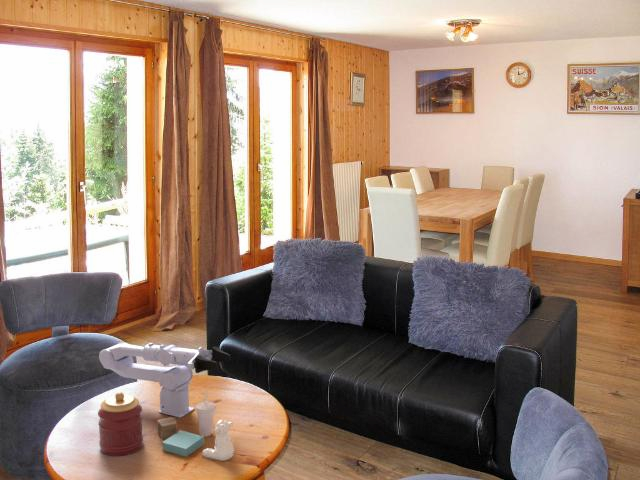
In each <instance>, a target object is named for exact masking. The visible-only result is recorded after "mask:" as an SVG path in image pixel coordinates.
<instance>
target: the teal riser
mask: <svg viewBox="0 0 640 480" xmlns="http://www.w3.org/2000/svg"><path fill="white" fill-rule="evenodd" d="M204 444H205V436H201V435H200V434H196V433H192V432H188V431H185V430H181V429H180V430H179V431H177V433H176V434H174V435H172V436H171V437H169V438H168V439H166V440H163V441H162V442H161V448H162V451H166V452H168V453H171V454H175V455H178V456H183V457H188V456H189V455H190V454H192V453H194V452H195V451H196V450H198V449H199V448H201V447H202V446H203V445H204Z"/></svg>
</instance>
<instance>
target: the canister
mask: <svg viewBox="0 0 640 480" xmlns="http://www.w3.org/2000/svg"><path fill="white" fill-rule="evenodd" d="M142 411H143V407H142V405H140V401H139V398H137V397H135V396H133V395H131V394H127V393H126V394H125V393H123V392H122V391H118V392H117V393H115V395H114V394H113V395H112V396H109V397H107V398H106V399H105V400H103V401H102V402H101V403H100V408H99V409H98V411H97V415H98V417H99V420H98V430H99V441H98V442H99V443H98V446H99V448H100V451H101V452H102V453H103V454H105V455H108V456H115V457H117V456H126V455H130V454H132V453H135V452H137V451H138V450H140V449H141V448H142V446H143V442H144V435H143V417H142V415H141V413H142Z"/></svg>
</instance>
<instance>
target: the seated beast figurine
mask: <svg viewBox="0 0 640 480" xmlns="http://www.w3.org/2000/svg"><path fill="white" fill-rule="evenodd" d="M233 424H234V422H233V421H229V422H228V420H227V419H220V420H219V421H217V423H216V424H215V426H214V428H213V429H214V430H213V432H214V433H215V434H216V435H215V438H214V446H213V447H214V448H212V447H211V448H210V447H206V448H205V449H203V450H202V453H201V454H202V456H203V457H204V458H205V459H211V460H215V461H220V462H223V461H224V462H225V461H228V460H230V459H231V458H232V457H234V453H235V448H234V446H233V444H232V439H231V437H230V434H229V431H230V428H231V427H232V426H233Z"/></svg>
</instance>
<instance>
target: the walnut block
mask: <svg viewBox="0 0 640 480" xmlns="http://www.w3.org/2000/svg"><path fill="white" fill-rule="evenodd" d="M156 422H157V423H156V424H157V435H158V437H159V438H160V440H161V441H162V442H163V441H165V440H166V439H168V438H169V437H171V436H172V435H174V434H176V433H177V432H178V429H177V428H178V426H177V425H178V423H177V421H176V420H175V419H174V418H173V417H172V416H171V417H166V418H165V417H164V418H161V419H157V421H156Z"/></svg>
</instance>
